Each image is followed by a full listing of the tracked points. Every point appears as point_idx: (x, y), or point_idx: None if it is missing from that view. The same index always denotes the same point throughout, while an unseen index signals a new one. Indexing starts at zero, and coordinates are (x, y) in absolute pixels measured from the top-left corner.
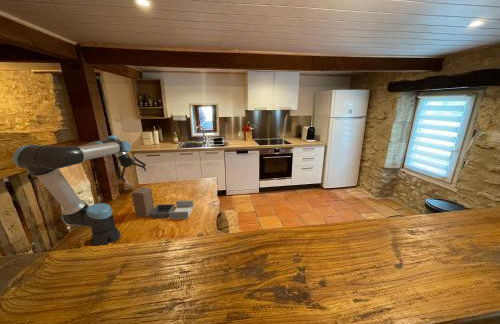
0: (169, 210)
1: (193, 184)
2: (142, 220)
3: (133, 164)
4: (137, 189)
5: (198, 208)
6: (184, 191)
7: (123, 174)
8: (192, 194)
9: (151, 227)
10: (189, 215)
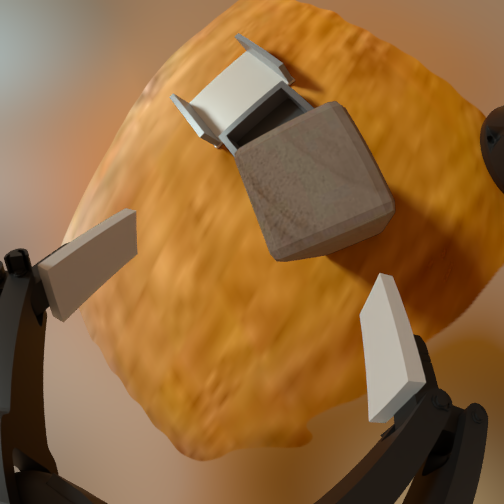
0: (267, 97)
1: None
2: (381, 163)
3: (24, 442)
4: (323, 225)
5: (188, 87)
6: None
7: (405, 434)
8: (129, 204)
9: (376, 84)
10: (236, 60)
